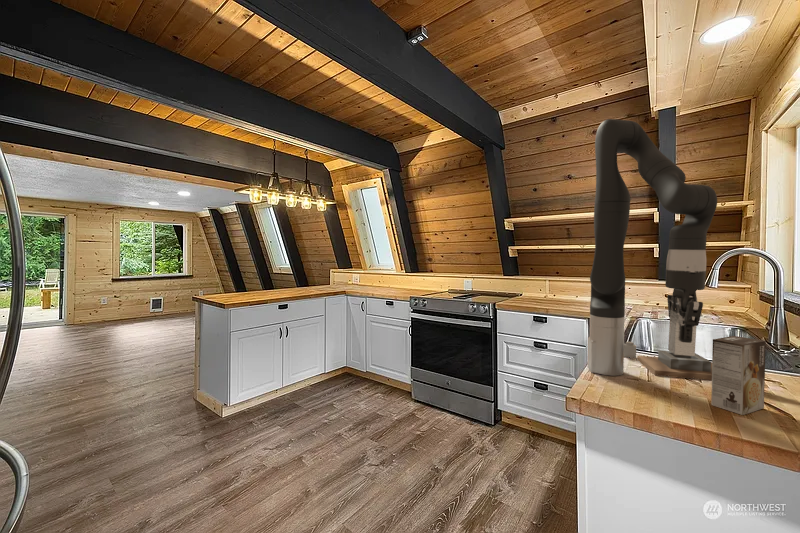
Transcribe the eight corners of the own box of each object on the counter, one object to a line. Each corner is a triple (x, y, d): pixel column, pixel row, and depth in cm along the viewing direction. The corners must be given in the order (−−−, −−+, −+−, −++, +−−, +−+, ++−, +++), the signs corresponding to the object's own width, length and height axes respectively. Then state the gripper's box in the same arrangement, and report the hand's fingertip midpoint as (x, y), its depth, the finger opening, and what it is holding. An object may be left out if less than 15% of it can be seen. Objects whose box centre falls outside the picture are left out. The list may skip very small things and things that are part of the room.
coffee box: (731, 398, 91) (733, 335, 91) (764, 408, 86) (767, 340, 85) (709, 405, 88) (711, 338, 87) (743, 416, 82) (745, 344, 81)
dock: (654, 375, 109) (655, 360, 109) (637, 360, 124) (637, 346, 124) (737, 382, 103) (737, 366, 103) (708, 365, 118) (708, 351, 118)
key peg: (674, 354, 87) (676, 312, 87) (668, 350, 91) (670, 310, 91) (694, 356, 86) (697, 314, 86) (687, 351, 90) (689, 311, 90)
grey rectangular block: (636, 357, 128) (636, 334, 127) (635, 358, 126) (636, 335, 126) (612, 354, 132) (613, 332, 131) (612, 355, 130) (612, 332, 130)
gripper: (656, 267, 96) (653, 332, 96) (679, 269, 82) (675, 345, 83) (691, 268, 93) (687, 334, 94) (720, 271, 80) (715, 349, 81)
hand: (681, 339), depth 89 cm, fingers closed on key peg, 4 cm apart
